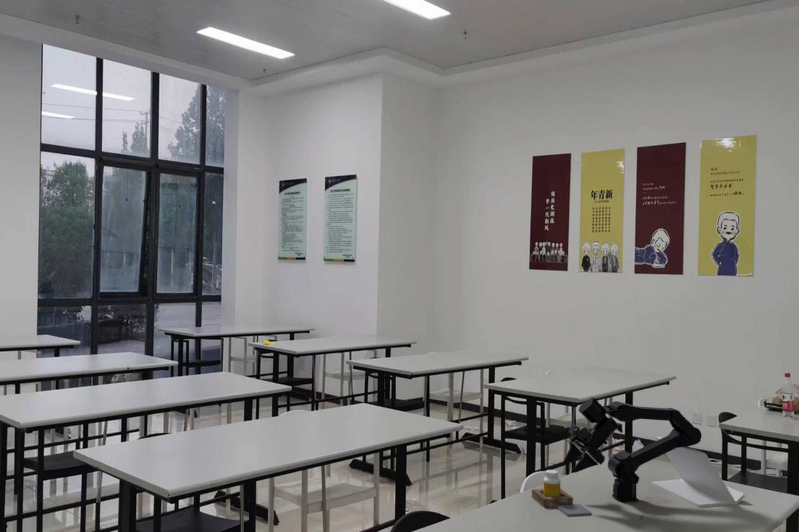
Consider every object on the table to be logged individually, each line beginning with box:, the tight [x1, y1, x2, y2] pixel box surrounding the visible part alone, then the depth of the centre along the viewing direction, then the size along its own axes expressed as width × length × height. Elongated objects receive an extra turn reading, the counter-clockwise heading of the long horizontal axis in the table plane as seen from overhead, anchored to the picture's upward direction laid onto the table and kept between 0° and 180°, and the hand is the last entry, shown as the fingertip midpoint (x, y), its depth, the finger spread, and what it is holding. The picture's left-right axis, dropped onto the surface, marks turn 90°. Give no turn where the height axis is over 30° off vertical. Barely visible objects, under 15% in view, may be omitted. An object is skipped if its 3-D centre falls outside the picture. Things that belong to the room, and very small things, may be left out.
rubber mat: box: [556, 503, 593, 517], centre depth 209 cm, size 8×8×1 cm
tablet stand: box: [651, 435, 746, 508], centre depth 228 cm, size 18×25×17 cm
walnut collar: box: [531, 487, 574, 508], centre depth 218 cm, size 10×10×2 cm
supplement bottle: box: [543, 469, 561, 497], centre depth 219 cm, size 5×5×10 cm
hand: (568, 467), depth 219 cm, fingers open, 9 cm apart
